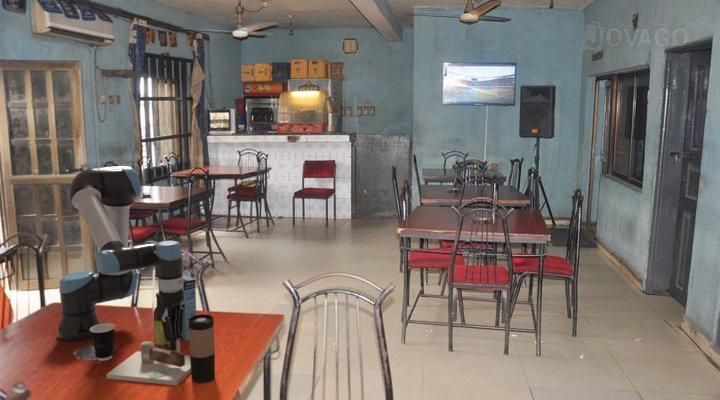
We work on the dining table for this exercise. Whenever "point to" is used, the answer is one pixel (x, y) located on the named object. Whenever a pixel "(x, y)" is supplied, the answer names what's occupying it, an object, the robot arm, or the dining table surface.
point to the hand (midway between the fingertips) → (175, 358)
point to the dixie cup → (103, 340)
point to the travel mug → (202, 348)
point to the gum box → (188, 304)
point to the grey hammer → (160, 355)
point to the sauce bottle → (159, 326)
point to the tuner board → (150, 371)
